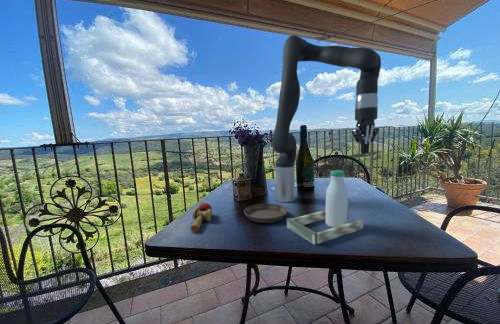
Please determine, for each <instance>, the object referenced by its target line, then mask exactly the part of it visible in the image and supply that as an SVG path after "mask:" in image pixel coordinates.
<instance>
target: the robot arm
mask: <svg viewBox="0 0 500 324" xmlns="http://www.w3.org/2000/svg"><path fill="white" fill-rule="evenodd" d="M299 62H317V63H321V64H326V65H331V66H335V67H341V68H353V69H357V70H360V73H359V74H360V75H359V79H358V80H357V82H356V86H355V87H356V89H355V102H354V120H355V121H356V124H355V128H353V129H351V134H352V136H353V137H354V141H355V142H356V143H359V144H360V154H362V155H363V154H364V155H367V154H369V153H370V144H371V143H373V142H374V141H375V139H376V138H377V136H378V133H379V131H380V129H379V127H376V123H375V121H376V120H377V119H378V111H379V109H378V107H379V97H378V88H379V87H378V86H379V85H378V84H379V83H378V81H379V77H380V72H381V67H382V66H381V65H382V60H381V56H380V54H379V53H378V52H377V51H375V49H373V48H368V47H349V46H344V45H343V46H342V45H316V44H313V43H311V42H308V41H307V40H306V39H304V38H302V37H300V36H298V35H295V34H292V35H289V37H287V39H286V40H285V42H284V44H283V49H282V70H281V71H282V72H281V73H282V74H281V83H280V90H279V97H278V98H279V99H278V105H277V106H278V107H277V115H276V122H275V126H274V127H275V128H274V132H273V136H272V140H271V141H272V143H271V144H272V149H273V150H274V152H275V153H278V154H279V155H278V158H277V159H276V160H275V181H274V200H275V201H277V202H280V203H292V202H294V201H295V200H296V199H295V198H296V196H295V195H296V191H295V190H296V189H295V186H296V185H295V183H296V182H295V181H296V180H295V163H296V159H297V140H296V137H295V136H294V135H293V134H292V133H290V127H291V123H292V121H293V118H294V117H295V115H296V114H297V110H298V108H299V103H300V98H301V97H300V96H301V88H300V87H301V86H300V81H299V78H298V63H299Z"/></svg>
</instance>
